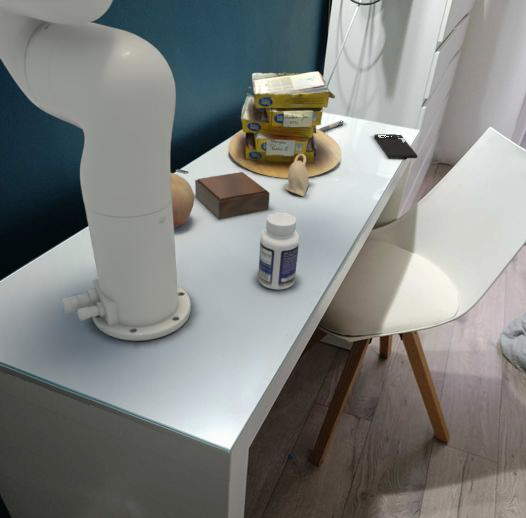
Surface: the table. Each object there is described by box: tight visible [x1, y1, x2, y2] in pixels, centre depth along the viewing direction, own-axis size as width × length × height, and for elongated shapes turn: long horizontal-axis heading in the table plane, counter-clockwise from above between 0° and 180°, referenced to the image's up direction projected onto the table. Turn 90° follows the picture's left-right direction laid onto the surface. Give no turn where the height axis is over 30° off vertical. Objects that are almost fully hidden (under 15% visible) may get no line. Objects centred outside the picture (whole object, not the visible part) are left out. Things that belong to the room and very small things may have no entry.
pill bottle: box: [257, 212, 300, 290], centre depth 70 cm, size 5×5×10 cm
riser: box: [194, 171, 270, 220], centre depth 91 cm, size 10×10×4 cm
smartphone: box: [373, 133, 418, 159], centre depth 121 cm, size 7×1×15 cm
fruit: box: [170, 172, 195, 228], centre depth 83 cm, size 8×8×8 cm
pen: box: [317, 120, 345, 133], centre depth 129 cm, size 1×14×1 cm
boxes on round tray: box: [228, 71, 342, 179], centre depth 107 cm, size 25×25×17 cm
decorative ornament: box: [285, 154, 310, 197], centre depth 98 cm, size 4×8×5 cm, turn 164°
